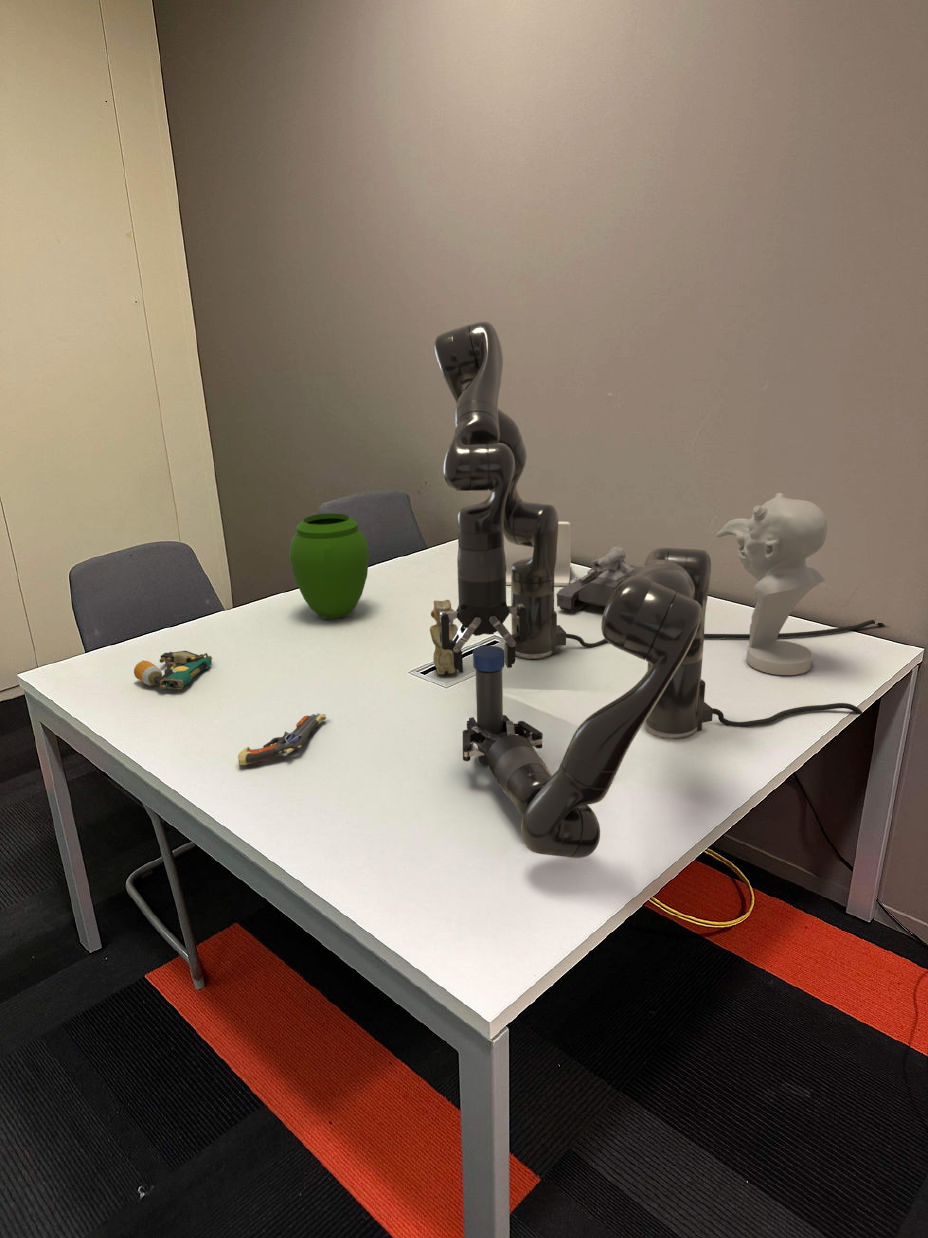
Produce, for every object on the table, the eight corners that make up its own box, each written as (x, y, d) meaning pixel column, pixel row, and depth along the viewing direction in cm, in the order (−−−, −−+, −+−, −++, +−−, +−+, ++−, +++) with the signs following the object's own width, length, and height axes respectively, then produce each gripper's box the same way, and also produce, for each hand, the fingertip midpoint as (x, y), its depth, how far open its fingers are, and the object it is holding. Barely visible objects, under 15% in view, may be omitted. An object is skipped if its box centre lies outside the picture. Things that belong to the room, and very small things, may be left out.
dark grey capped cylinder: (490, 750, 147) (488, 647, 141) (508, 759, 144) (507, 655, 138) (472, 760, 145) (469, 655, 138) (490, 769, 142) (488, 662, 135)
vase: (389, 608, 216) (383, 514, 208) (339, 633, 201) (330, 533, 192) (330, 596, 226) (322, 506, 218) (278, 619, 211) (267, 523, 202)
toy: (603, 584, 229) (605, 530, 224) (673, 597, 218) (677, 540, 213) (555, 612, 210) (556, 553, 205) (630, 627, 199) (633, 566, 194)
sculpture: (458, 662, 183) (456, 596, 178) (460, 676, 176) (457, 608, 171) (431, 663, 183) (428, 597, 177) (431, 677, 176) (428, 609, 171)
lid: (477, 673, 136) (476, 659, 135) (470, 661, 140) (469, 647, 139) (508, 669, 137) (507, 655, 136) (499, 657, 141) (499, 644, 140)
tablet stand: (569, 585, 229) (570, 524, 223) (476, 584, 232) (475, 523, 226) (570, 566, 246) (571, 508, 240) (484, 564, 249) (483, 507, 243)
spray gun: (177, 659, 191) (231, 671, 185) (120, 684, 176) (176, 698, 171) (176, 641, 190) (230, 653, 184) (118, 665, 175) (174, 678, 169)
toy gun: (232, 755, 143) (287, 753, 141) (276, 711, 161) (326, 708, 159) (235, 770, 144) (291, 767, 142) (279, 724, 162) (329, 722, 160)
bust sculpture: (745, 630, 196) (760, 478, 183) (832, 666, 176) (855, 499, 163) (692, 644, 189) (703, 487, 176) (776, 683, 169) (796, 510, 156)
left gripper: (520, 562, 137) (521, 655, 143) (433, 569, 135) (437, 663, 141) (532, 576, 131) (532, 673, 136) (439, 583, 128) (444, 682, 134)
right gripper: (563, 739, 130) (524, 693, 145) (473, 755, 126) (443, 706, 142) (562, 782, 133) (524, 732, 148) (474, 799, 129) (445, 746, 144)
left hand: (484, 668), depth 139 cm, fingers open, 7 cm apart
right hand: (485, 720), depth 145 cm, fingers closed on dark grey capped cylinder, 4 cm apart
